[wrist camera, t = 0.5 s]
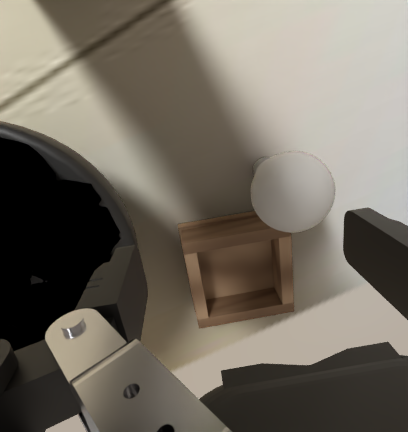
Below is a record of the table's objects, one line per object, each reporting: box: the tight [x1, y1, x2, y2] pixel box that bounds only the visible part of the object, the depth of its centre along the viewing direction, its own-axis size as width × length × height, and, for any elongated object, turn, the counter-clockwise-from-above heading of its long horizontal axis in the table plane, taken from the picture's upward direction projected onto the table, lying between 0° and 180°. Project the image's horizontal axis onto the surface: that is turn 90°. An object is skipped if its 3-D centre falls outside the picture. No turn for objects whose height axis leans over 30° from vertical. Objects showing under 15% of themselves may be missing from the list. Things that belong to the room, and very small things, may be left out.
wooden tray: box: [178, 211, 294, 328], centre depth 32 cm, size 11×11×4 cm
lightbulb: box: [251, 151, 335, 233], centre depth 25 cm, size 6×6×11 cm
